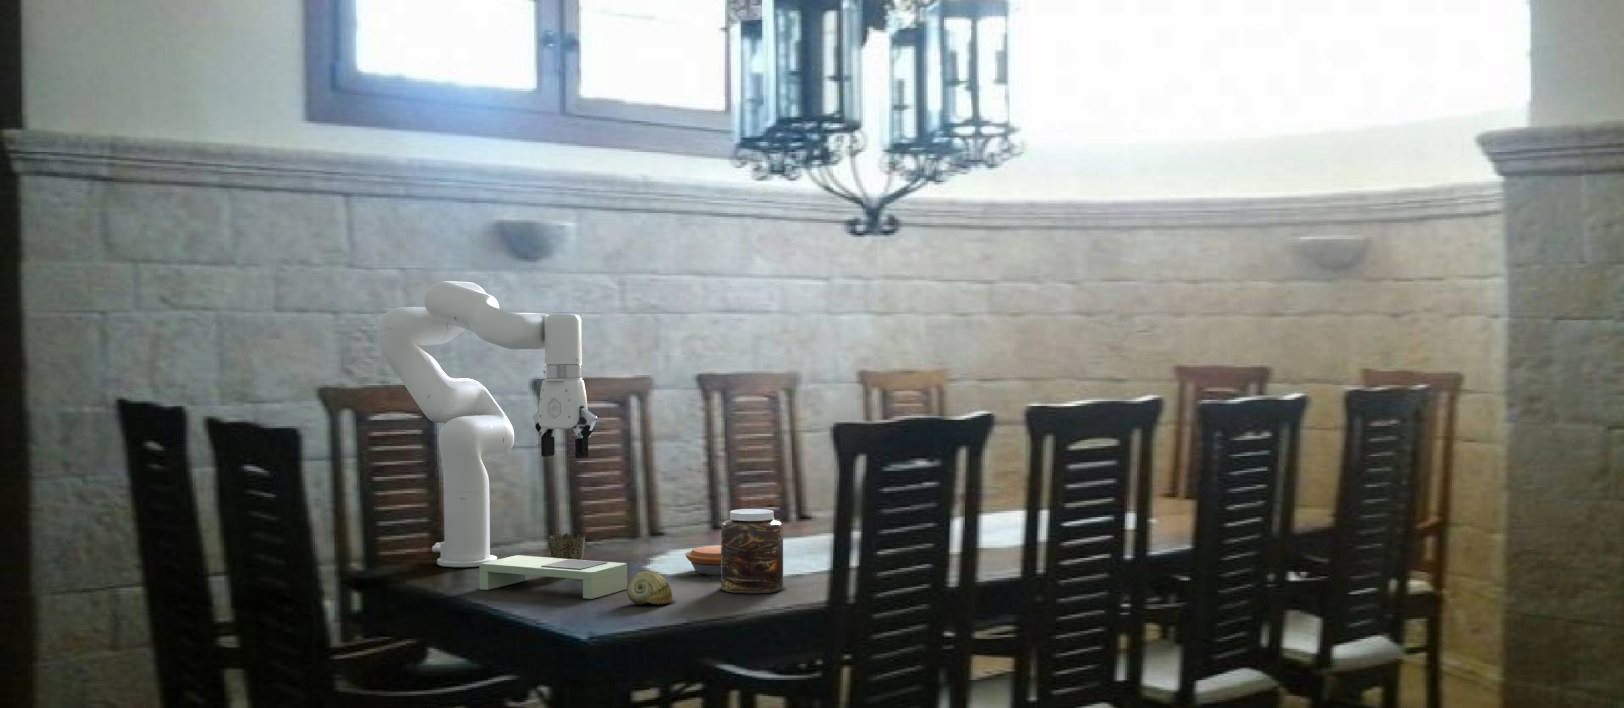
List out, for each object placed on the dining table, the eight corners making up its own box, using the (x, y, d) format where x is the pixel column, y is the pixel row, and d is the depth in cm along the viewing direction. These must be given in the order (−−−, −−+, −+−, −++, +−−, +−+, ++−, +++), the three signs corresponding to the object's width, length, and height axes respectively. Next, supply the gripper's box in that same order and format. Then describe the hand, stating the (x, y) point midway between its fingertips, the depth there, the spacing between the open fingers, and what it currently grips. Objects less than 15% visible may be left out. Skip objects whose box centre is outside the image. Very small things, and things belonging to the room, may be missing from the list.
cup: (592, 572, 313) (592, 534, 313) (572, 578, 306) (572, 538, 306) (562, 570, 316) (562, 532, 316) (541, 575, 309) (541, 536, 309)
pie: (774, 572, 312) (774, 548, 312) (707, 579, 304) (707, 554, 304) (737, 563, 325) (737, 539, 325) (672, 569, 317) (672, 545, 317)
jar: (771, 582, 300) (771, 506, 300) (791, 591, 289) (790, 513, 289) (714, 586, 296) (713, 509, 295) (731, 595, 285) (731, 516, 284)
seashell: (652, 621, 281) (626, 587, 283) (682, 596, 282) (656, 563, 283) (643, 621, 272) (616, 586, 273) (674, 596, 272) (647, 561, 274)
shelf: (479, 589, 293) (479, 562, 293) (517, 580, 304) (517, 554, 304) (591, 599, 282) (591, 571, 282) (627, 589, 293) (626, 562, 293)
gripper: (520, 373, 314) (521, 456, 314) (581, 374, 304) (582, 459, 304) (546, 373, 320) (548, 454, 320) (607, 373, 310) (608, 457, 310)
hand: (564, 456), depth 312 cm, fingers open, 9 cm apart
